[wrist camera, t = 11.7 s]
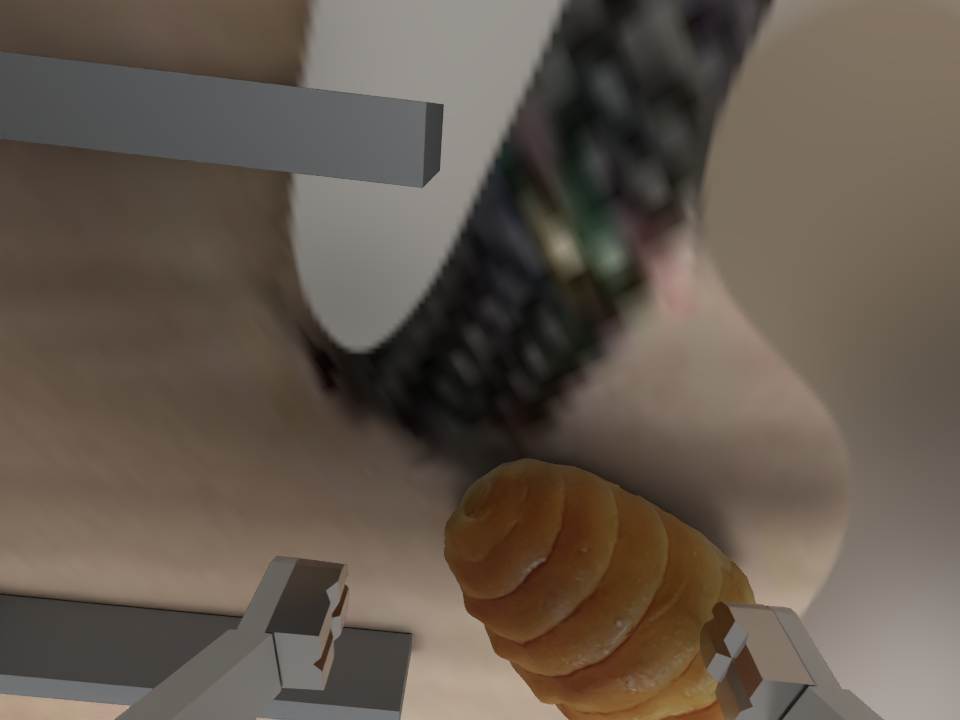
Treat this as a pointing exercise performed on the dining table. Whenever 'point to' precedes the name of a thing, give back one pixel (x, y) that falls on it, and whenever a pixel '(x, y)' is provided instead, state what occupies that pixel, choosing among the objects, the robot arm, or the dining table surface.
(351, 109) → the corral
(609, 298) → the dining table surface
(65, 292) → the dining table surface
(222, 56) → the dining table surface
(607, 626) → the pastry
